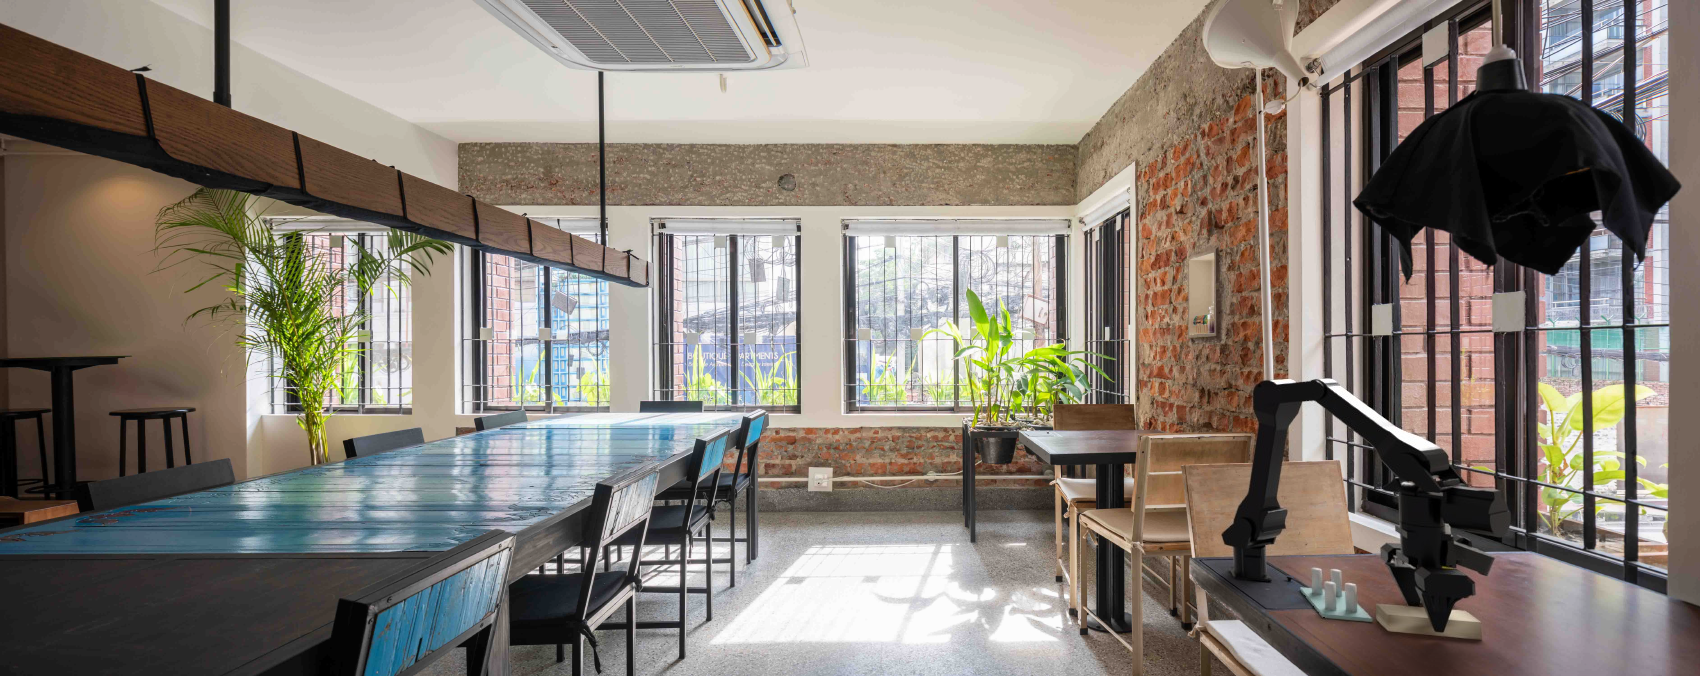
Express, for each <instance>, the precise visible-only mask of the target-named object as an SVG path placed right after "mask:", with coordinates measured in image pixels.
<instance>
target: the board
mask: <svg viewBox="0 0 1700 676" xmlns="http://www.w3.org/2000/svg"><path fill="white" fill-rule="evenodd" d="M1375 609H1376V610H1375V611H1376V612H1375V613H1376V614H1375V615H1376V621H1377V622H1379V624H1380V625H1381V626H1382V627H1383V628H1384V629H1386V630H1387V631H1388V632H1393V633H1394V632H1395V633H1405V634H1415V635H1416V634H1417V635H1427V636H1438V637H1448V638H1457V639H1458V638H1460V639H1469V640H1481V639H1482V640H1483V631H1482V630H1483V629H1482V622H1481V621H1480V620H1479V619H1477V618H1476V617H1475V616H1474V615H1472V614H1471V613H1469V612H1467V611H1466V610H1461V609H1452V611H1451V614H1450V617H1449V619H1448V622H1447V625H1446V628H1445V630H1444V632H1443V633H1440V632H1435V631H1434V629H1433V627H1432V625H1431V623H1430V621H1429V618H1428V616H1427V614H1426V611H1425V609H1424V607H1421V606H1420V607H1412V606H1408V605H1400V604H1399V605H1397V604H1386V603H1385V604H1384V603H1375Z"/></svg>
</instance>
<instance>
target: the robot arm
mask: <svg viewBox="0 0 1700 676" xmlns="http://www.w3.org/2000/svg"><path fill="white" fill-rule="evenodd" d="M1313 401H1314V402H1315V403H1317V404H1318V405H1319V406H1321V407H1322V408H1323V409H1324V410H1326V412H1329V413H1330V414H1332V416H1334V417H1335V418H1336V419H1338V420H1339V421H1340V422H1341V423H1343V424H1344V425H1346V427H1348V428H1349V429H1351V430H1352V431H1353V432H1355V434H1357V435H1358V436H1359V437H1361V438H1362V439H1364V441H1366V442H1367V443H1369V444H1370V445H1371V447H1373V448H1374V449H1375V451H1376V453H1377V455H1378V457H1379V459H1380V461H1382V462H1383V464H1384V465H1385V466H1386V467H1387V468H1388V469H1389V470H1390V472H1391V473H1393V475H1394V476H1396V477H1394V478H1392V480H1390V482H1388V483H1387V484H1385V485H1383V486H1382V490H1383V491H1385V492H1391V493H1398V494H1397V495H1398V497H1397V498H1398V516H1399V518H1398V519H1399V524H1394V525H1395V526H1394V531H1395V532H1396V533H1398V534H1399V541H1400V542H1398V543H1396V542H1385V543H1384V544H1383V545H1381V546H1380V548H1379V549H1380V550H1379V551H1380V559H1381V560H1383V561H1384V565H1385V567H1386V569H1387V570H1388V572H1389V573H1390V576H1391V577H1392V580H1393V581H1394V583H1395V585H1396V586H1397V588H1398V590H1399V592H1400V594H1401V596H1402V598H1403V599H1404V600H1403V601H1405V603H1406V606H1412V607H1421V604H1422V606H1423V607H1424V609H1425V611H1426V614H1427V616H1428V618H1429V621H1430V623H1431V625H1432V627H1433V629H1434V631H1435V632H1440V633H1443V632H1444V630H1445V628H1446V625H1447V622H1448V619H1449V617H1450V614H1451V611H1452V610H1454V609H1453V608H1454V607H1455V604H1456V603H1457V602H1459V601H1461V600H1463V599H1468V598H1469V597H1471V596H1472V597H1473V596H1476V594H1477V592H1476V582H1475V581H1474V579H1472V578H1471V577H1469V576H1468V575H1467V574H1466V573H1463V572H1462V571H1461V570H1459V569H1457V566H1460V567H1462V568H1465V569H1469V570H1470V571H1474V572H1476V573H1478V574H1479V575H1482V576H1484V577H1488V576H1489V574H1490V571H1491V569H1492V566H1493V564H1494V562H1495V559H1496V557H1495V556H1493V555H1491V554H1489V553H1487V552H1485V551H1483V550H1480V549H1478V548H1476V547H1474V546H1473V543H1472V540H1470V539H1469V538H1467V537H1464V536H1462V535H1458V534H1455V535H1454V536H1453V535H1452V533H1451V534H1450V533H1448V532H1446V529H1445V524H1449V526H1450V529H1453V530H1457V531H1463V532H1468V533H1473V534H1480V535H1485V536H1490V537H1491V536H1492V537H1495V538H1503V537H1505V536H1506V535H1507V533H1508V531H1509V530H1510V526H1511V523H1512V522H1511V521H1512V515H1511V514H1512V513H1511V511H1510V510H1509V506H1508V504H1507V502H1506V501H1505V499H1503V498H1502V491H1501V490H1500V489H1494V488H1492V489H1491V488H1484V489H1483V488H1476V487H1469V484H1468V483H1467V481H1465V480H1464V478H1463V477H1462V476H1461V475H1460V474H1459V472H1458V471H1457V470H1456V469H1455V468H1454V467H1453V465H1452V464H1451V463H1450V460H1449V458H1450V457H1449V455H1448V453H1447V452H1446V451H1445V450H1444V449H1443V448H1442V447H1440V446H1439V445H1437V444H1435V443H1433V442H1431V441H1429V440H1427V439H1425V438H1423V437H1421V436H1419V435H1416V434H1414V433H1411V432H1409V431H1405V430H1403V429H1402V428H1399V427H1397V426H1396V425H1394V424H1393V423H1391V422H1390V421H1389V420H1387V419H1386V418H1384V417H1383V416H1382V415H1380V414H1379V413H1377V411H1375V410H1374V409H1373V408H1371V407H1369V406H1368V405H1367V404H1366V403H1365V402H1363V401H1361V400H1360V399H1358V398H1357V397H1356V396H1355V395H1353V394H1352V393H1351V392H1349V391H1348V390H1346V389H1345V388H1343V387H1342V386H1341V384H1340V383H1339V382H1338V381H1336V380H1334V379H1333V378H1328V377H1327V378H1315V379H1311V380H1306V381H1298V382H1297V381H1295V380H1293V379H1290V378H1289V379H1288V378H1281V379H1280V378H1279V379H1264V380H1261V381H1259V382H1258V383H1257V384H1255V385H1254V387H1253V389H1252V410H1253V413H1254V415H1255V418H1256V420H1257V423H1258V425H1257V431H1256V440H1255V445H1254V452H1253V458H1252V465H1251V471H1250V479H1249V485H1248V490H1247V493H1246V495H1245V496H1244V498H1243V499H1242V500H1241V502H1240V504H1238V506H1237V509H1236V511H1235V515H1234V518H1233V523H1232V524H1231V525H1230V526H1228V527H1227V528H1226V529H1224V531H1222V532H1221V538H1222V542H1223V544H1224V545H1225V546H1228V547H1232V555H1233V557H1232V558H1233V560H1232V561H1233V566H1230V567H1229V571H1230V573H1231V575H1232V576H1233V578H1234V579H1236V580H1247V581H1248V580H1249V581H1250V580H1251V581H1263V582H1273V578H1272V576H1270V574H1269V572H1268V571H1267V570H1268V569H1267V547H1266V546H1270V545H1275V542H1276V539H1277V537H1278V536H1280V535H1281V534H1282V531H1283V530H1286V529H1287V526H1286V518H1287V516H1288V513H1289V512H1288V509H1287V508H1283V507H1281V505H1280V503H1279V499H1278V491H1279V486H1280V479H1281V473H1282V468H1283V467H1282V466H1283V460H1284V455H1285V448H1286V442H1287V434H1288V429H1289V426H1290V425H1291V423H1293V421H1294V420H1295V418H1296V417H1297V416H1298V415H1299V412H1300V409H1301V406H1302V404H1303V402H1313ZM1436 479H1438V480H1436ZM1442 567H1447V568H1442ZM1449 568H1452V569H1449ZM1421 602H1422V603H1421Z"/></svg>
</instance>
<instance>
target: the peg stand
mask: <svg viewBox="0 0 1700 676" xmlns="http://www.w3.org/2000/svg"><path fill="white" fill-rule="evenodd" d="M1322 570H1323V569H1321V568H1319V567H1311V569H1310V573H1311V575H1310V576H1311V587H1299V590H1301V591H1300V592H1301V594H1303V596H1304V595H1305V596H1306V597H1305V596H1304V597H1305V598H1306V599H1307V601H1308V602H1309V603H1310V604H1311V606H1312V607H1313V606H1314V609H1315V610H1316V612H1317V613H1318V612H1319V613H1318V614H1319V615H1320V616H1321V618H1323V617H1325V618H1324V619H1335V620H1336V619H1337V620H1347V621H1356V622H1357V621H1358V622H1368V623H1373V617H1371V616H1370V615H1369V613H1368V612H1366V610H1365V609H1364V608H1362V606H1360V605H1359V603H1358V594H1357V593H1358V592H1357V591H1358V590H1357V589H1358V588H1357V584H1355V583H1351V582H1345V583H1344V590H1343V585H1342V583H1343V582H1342V581H1343V580H1342V570H1340V569H1337V568H1332V569H1331V568H1330V580H1329V581H1324V582H1323V571H1322ZM1323 583H1324V584H1323ZM1323 585H1324V586H1323ZM1323 587H1324V588H1323Z"/></svg>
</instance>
